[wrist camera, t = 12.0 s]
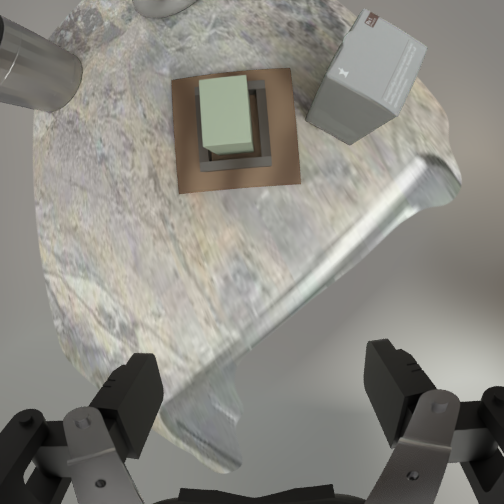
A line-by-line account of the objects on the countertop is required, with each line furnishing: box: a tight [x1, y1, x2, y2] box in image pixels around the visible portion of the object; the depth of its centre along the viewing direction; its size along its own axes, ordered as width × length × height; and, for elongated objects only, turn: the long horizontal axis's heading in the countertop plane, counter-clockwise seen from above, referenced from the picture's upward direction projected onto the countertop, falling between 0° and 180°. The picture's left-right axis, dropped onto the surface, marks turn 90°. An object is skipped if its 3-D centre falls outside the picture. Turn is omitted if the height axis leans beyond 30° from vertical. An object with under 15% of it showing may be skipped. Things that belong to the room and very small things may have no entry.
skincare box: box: [305, 9, 428, 145], centre depth 27 cm, size 8×7×16 cm
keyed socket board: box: [171, 68, 301, 194], centre depth 34 cm, size 14×14×4 cm
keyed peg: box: [199, 75, 254, 155], centre depth 30 cm, size 6×4×10 cm, turn 4°
